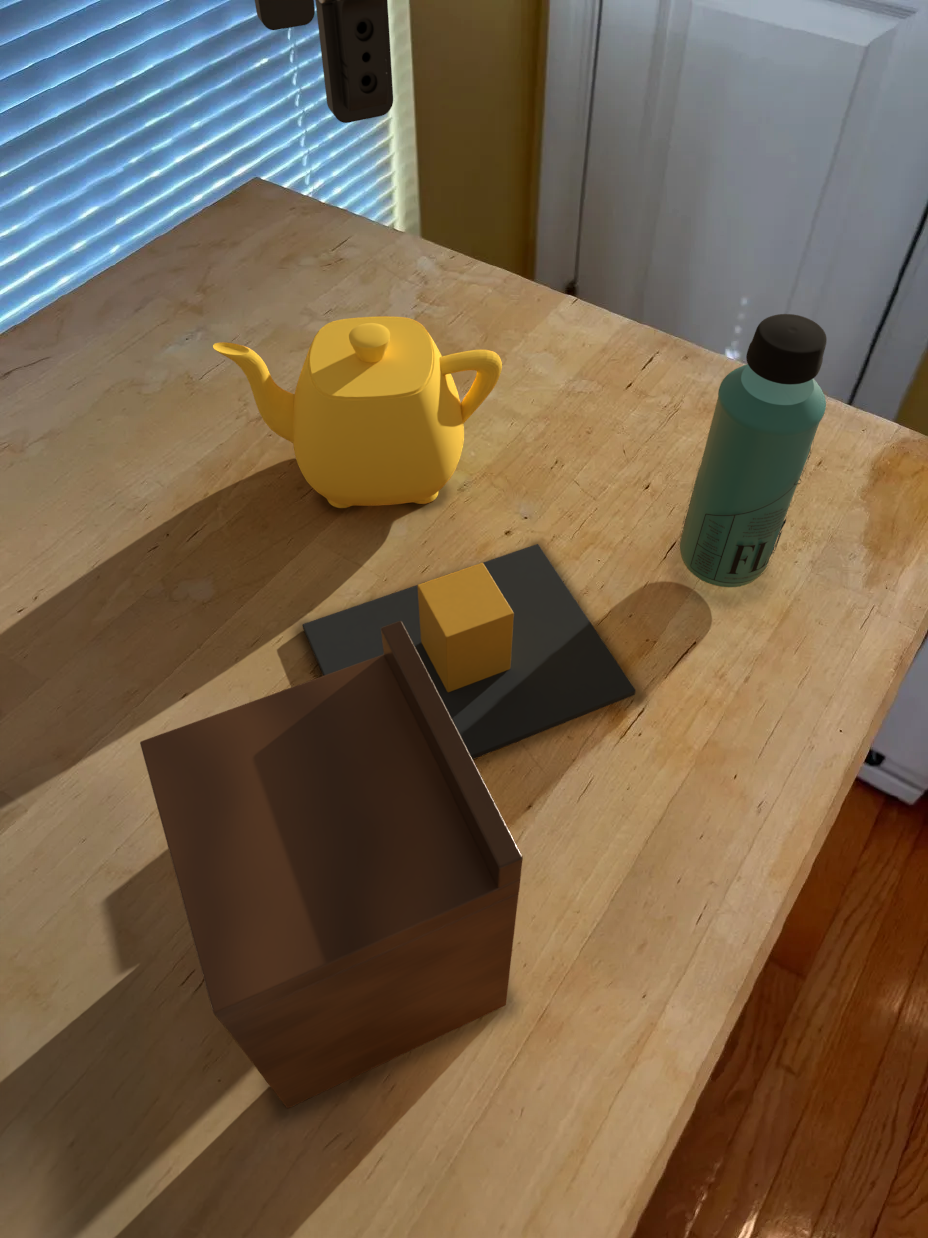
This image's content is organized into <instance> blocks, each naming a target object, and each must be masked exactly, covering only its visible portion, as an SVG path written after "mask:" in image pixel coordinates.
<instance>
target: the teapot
mask: <svg viewBox="0 0 928 1238" xmlns="http://www.w3.org/2000/svg"><path fill="white" fill-rule="evenodd" d="M212 347H213V349H214V350H215V351H216V353H219V354H221V355H222V356H223V357H226V358H227V359H229V360H231V361H232V362H234V363H235V364H236V365H237V366H238V367H239V368H240V369H241V370H242V373H243V374H244V375H245V376H246V379H247V382H248V383H249V386H250V389H251V392H252V395H253V398H254V402H255V405H256V407H257V410H258V413H259V414H260V417H261V419H262V421H263V422H264V423H265V424H266V426H267V427H268V428H269V429H270V430H271V431H272V432H273V433H274V434H276V435H277V436H278V437H281V438H282V439H284V440H285V441H288V442H289V443H292V444H293V445H292V447H293V451H294V457H295V459H296V464H297V465H298V467H299V470H300V472H301V474H302V476H303V477H304V479H305V481H306V483H307V484H309V486H310V487H311V488H312V489H313V490H314V491H315V492H316V493H318V494H319V495H320V496H322V497H324V498H325V499H326V500H327V502H328V503H329V504H330V505H331V506H332V507H333V508H338V509H347V508H350V507H352V506H368V507H370V506H372V507H373V506H390V505H401V504H408V503H415V504H419V505H426V504H429V503H432V502H434V500H436V499H437V497H438V495H439V491H440V490H442V489H443V488H444V487H445V485H446V484H447V483H448V482H449V480H451V478H452V476H453V475H454V473H455V471H456V470H457V468H458V465H459V462H460V459H461V455H462V454H463V453H462V452H463V448H464V442H465V441H464V440H465V428H464V426H465V425H464V424H465V423H466V422H467V421H468V420H469V418H470V417H471V416H473V414H474V413H475V412H476V411H477V410H478V408H479V407H480V406H481V405H482V404H483V403H484V401H485V400H486V399H487V398H488V397H489V395H490V394H491V393H492V392H493V390H494V389H495V387H496V385H497V384H498V381H499V380H500V376H501V373H502V369H503V362H502V359H501V357H500V355H499V354H498V353H496V352H495V351H493V350H488V349H472V350H465V351H460V352H455V353H450V354H446V355H442V354H441V351H440V350H439V348H438V346H437V344H436V342H435V341H434V339H433V338H432V335H430V333H429V332H428V330H427V329H426V327H425V326H424V325H423V324H422V323H421V322H419V321H417V320H415V319H413V318H409V317H406V316H405V317H404V316H391V315H390V316H388V315H387V316H359V317H350V318H349V317H348V318H342V319H337V320H333V321H330V322H328V323H326V324H324V326H322V327H321V328H320V329H319V330H318V331H317V332H316V334H315V335H314V337H313V339H312V342H311V344H310V346H309V348H308V350H307V353H306V356H305V359H304V362H303V364H302V368H301V370H300V373H299V377H298V379H297V383H296V386H295V389H294V390H295V391H294V393H293V392H290V391H287V390H285V389H283V388H282V387H280V386H279V385H278V384H277V383H276V382H275V381H274V379H273V377H272V375H271V373H270V371H269V369H268V366H267V365H266V363H265V361H264V359H262V357H261V356H260V355H259V354H258V353H256V351H254V350H253V349H251V348H249V347H247V346H245V345H243V344H242V345H241V344H239V343H234V342H226V341H224V342H222V341H221V342H215V343H214V344H213V345H212ZM468 371H475V372H476V374H475V377H474V380H473V382H472V384H471V386H470V388H469V390H468V392H467V393H466V394H465V396H464V397H463V398H462V400H460V396H459V391H458V388H457V386H456V383H455V381H454V377H453V376H452V374H455V373H460V372H468Z"/></svg>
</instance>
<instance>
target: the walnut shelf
mask: <svg viewBox="0 0 928 1238" xmlns="http://www.w3.org/2000/svg"><path fill="white" fill-rule="evenodd" d="M381 634H382V642H383V650H384V654H383V655H381V656H378V657H375V658H372V659H369V660H367V661H364V662H361V663H358V664H355V665H353V666H350V667H347V668H344V669H341V670H339V671H336V672H333V673H330V674H328V675H325V676H323V675H322V676H319V677H317V678H314V679H312V680H311V679H310V680H309V681H306V682H303V683H300V684H297V685H294V686H291V687H289V688H287V689H283V690H279V691H277V692H275V693H272V694H269V695H266V696H264V697H261V698H258V699H255V700H253V701H250V702H247V703H243V704H241V705H239V706H236V707H233V708H230V709H228V710H225V711H221V712H219V713H216V714H213V715H210V716H208V717H205V718H201V719H200V720H196V721H194V722H191V723H188V724H186V725H185V724H184V725H183V726H180V727H177V728H174V729H171V730H169V731H165V732H163V733H161V734H158V735H154V736H152V737H149V738H146V739H144V740H141V741H140V742H139V744H140V749H141V753H142V756H143V759H144V762H145V766H146V767H145V768H146V770H147V774H148V778H149V781H150V785H151V788H152V793H153V796H154V800H155V803H156V808H157V811H158V815H159V818H160V821H161V826H162V829H163V833H164V836H165V840H166V844H167V848H168V851H169V854H170V855H169V856H170V859H171V863H172V867H173V870H174V873H175V874H174V875H175V877H176V881H177V885H178V888H179V892H180V896H181V900H182V903H183V908H184V910H185V914H186V918H187V922H188V925H189V929H190V933H191V936H192V940H193V943H194V944H193V945H194V947H195V952H196V955H197V958H198V962H199V966H200V968H201V973H202V977H203V981H204V985H205V989H206V991H207V996H208V999H209V1003H210V1006H211V1009H212V1014H213V1015H214V1016H215V1017H216V1019H217V1020H218V1021H219V1022H220V1023H221V1024H222V1026H223V1027H224V1028H225V1030H226V1031H227V1033H228V1034H229V1035H230V1036H231V1038H232V1039H233V1040H234V1042H235V1043H236V1044H237V1045H238V1047H240V1049H241V1051H242V1052H243V1053H244V1055H245V1056H246V1057H247V1058H248V1060H249V1061H250V1062H251V1063H252V1065H253V1066H254V1068H255V1069H256V1070H257V1071H258V1072H259V1074H260V1075H261V1076H262V1078H263V1079H264V1080H265V1082H266V1083H267V1084H268V1085H269V1087H270V1088H271V1089H272V1091H273V1092H274V1093H275V1094H276V1096H277V1097H278V1098H279V1100H280V1101H281V1102H282V1104H283V1105H284V1106H285V1108H286V1109H290V1108H293V1107H294V1106H297V1105H298V1104H301V1103H303V1102H305V1101H307V1100H309V1099H311V1098H313V1097H315V1096H318V1095H320V1094H322V1093H324V1092H326V1091H328V1090H330V1089H332V1088H335V1087H337V1086H339V1085H341V1084H344V1083H345V1082H347V1081H349V1080H351V1079H354V1078H356V1077H358V1076H360V1075H362V1074H364V1073H367V1072H368V1071H370V1070H373V1069H375V1068H377V1067H379V1066H382V1065H383V1064H385V1063H388V1062H389V1061H392V1060H394V1059H396V1058H398V1057H400V1056H402V1055H404V1054H406V1053H409V1052H411V1051H413V1050H415V1049H417V1048H419V1047H422V1046H423V1045H425V1044H428V1043H430V1042H432V1041H434V1040H436V1039H438V1038H440V1037H443V1036H444V1035H446V1034H448V1033H451V1032H453V1031H455V1030H457V1029H459V1028H461V1027H464V1026H465V1025H468V1024H470V1023H472V1022H475V1021H476V1020H478V1019H480V1018H482V1017H484V1016H487V1015H489V1014H491V1013H493V1012H495V1011H497V1010H500V1009H501V1008H503V1007H505V1006H506V1005H507V999H508V992H509V991H508V989H509V980H510V971H511V964H512V956H513V955H512V954H513V948H514V947H513V946H514V939H515V929H516V922H517V921H516V920H517V911H518V904H519V903H518V902H519V892H520V888H521V878H522V877H521V876H522V868H523V861H524V860H523V854H522V852H521V850H520V849H519V846H518V844H517V843H516V841H515V838H514V837H513V835H512V833H511V831H510V829H509V827H508V825H507V823H506V822H505V819H504V817H503V815H502V813H501V811H500V810H499V807H498V806H497V803H496V802H495V800H494V798H493V796H492V794H491V792H490V790H489V788H488V786H487V783H486V782H485V780H484V778H483V776H482V774H481V772H480V771H479V769H478V767H477V765H476V763H475V760H474V759H472V757H471V755H470V753H469V751H468V749H467V747H466V745H465V743H464V741H463V739H462V737H461V735H460V733H459V731H458V730H457V728H456V726H455V724H454V722H453V720H452V718H451V716H450V714H449V712H448V710H447V708H446V706H445V704H444V702H443V700H442V698H441V696H440V694H439V693H438V691H437V689H436V687H435V685H434V683H433V681H432V679H431V677H430V675H429V673H428V671H427V669H426V667H425V665H424V663H423V661H422V659H421V657H420V656H419V654H418V652H417V650H416V648H415V646H414V644H413V642H412V640H411V638H410V636H409V634H408V632H407V630H406V628H405V626H404V624H403V622H402V621H398V622H396V623H393V624H390V625H387V626H384V627H382V628H381Z"/></svg>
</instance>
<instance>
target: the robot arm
mask: <svg viewBox="0 0 928 1238" xmlns="http://www.w3.org/2000/svg"><path fill="white" fill-rule="evenodd" d="M388 2H389V1H388V0H254V4H255V11H256V17H257V18H258V19H259V21H261V23H262V24H263V26H264V27H265V28H266V29H268V30H270V31H279V30H285V29H290V28H296V27H297V28H298V27H301V26H302V27H303V26H306V25H309V24H310V23H311V22H312V21H313V20H314V18H315V14H316V19H317V26H318V35H319V45H320V53H321V63H322V71H323V80H324V89H325V96H326V105H327V107H328V109H329V111H330V112H331V113H332V115H333V116H334V117H335V118H336V120H337V121H339V122H340V123H344V124H348V123H349V124H350V123H354V122H359V121H363V120H368V119H374V118H378V117H383V116H385V115H386V114H388V113H389V112H390V110H391V109H392V107H393V104H394V87H393V72H392V71H393V70H392V69H393V68H392V54H391V37H390V22H389V18H390V17H389V3H388Z"/></svg>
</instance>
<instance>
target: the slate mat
mask: <svg viewBox="0 0 928 1238" xmlns="http://www.w3.org/2000/svg"><path fill="white" fill-rule="evenodd" d="M482 563H483V564H484V565H485V567H486V569H487V570H488V572H489V573H490V575H491V577H492V578H493V580H494V582H495V583H496V585H497V587H498V588H499V590H500V591H501V593H502V595H503V596H504V598H505V600H506V601H507V603H508V605H509V606H510V608H511V609H512V611H513V613H514V617H513V633H512V648H511V664H510V669H509V670H506V671H504V672H501V673H498V674H496V675H493V676H490V677H488V678H485V679H482V680H480V681H477V682H474V683H472V684H469V685H467V686H464V687H461V688H459V689H456V690H453V691H451V692H447V690H446V688H445V686H444V684H443V683H442V681H441V679H440V677H439V675H438V673H437V671H436V669H435V667H434V665H433V663H432V661H431V660H430V658H429V656H428V654H427V652H426V650H425V648H424V646H423V644H422V642H421V631H420V615H419V600H418V585H419V584H415V585H413V586H410V587H407V588H405V589H401V590H398V591H396V592H393V593H390V594H386V595H384V596H380V597H378V598H374V599H372V600H369V601H366V602H363V603H360V604H358V605H355V606H351V607H349V608H346V609H343V610H340V611H337V612H334V613H331V614H328V615H325V616H323V617H322V616H321V617H320V618H315V619H314V620H310V621H307V622H304V623H303V624H302V629H303V632H304V634H305V637H306V639H307V642H308V643H309V646H310V648H311V651H312V653H313V655H314V658H315V660H316V663H317V664H318V668H319V670H320V672H321V674H322V676H325V675H328V674H330V673H333V672H336V671H339V670H341V669H344V668H347V667H350V666H353V665H355V664H358V663H361V662H364V661H367V660H369V659H372V658H375V657H378V656H381V655H383V654H384V650H383V642H382V634H381V628H382V627H384V626H387V625H390V624H393V623H396V622H398V621H402V622H403V624H404V626H405V628H406V630H407V632H408V634H409V636H410V638H411V640H412V642H413V644H414V646H415V648H416V650H417V652H418V654H419V656H420V657H421V659H422V661H423V663H424V665H425V667H426V669H427V671H428V673H429V675H430V677H431V679H432V681H433V683H434V685H435V687H436V689H437V691H438V693H439V694H440V696H441V698H442V700H443V702H444V704H445V706H446V708H447V710H448V712H449V714H450V716H451V718H452V720H453V722H454V724H455V726H456V728H457V730H458V731H459V733H460V735H461V737H462V739H463V741H464V743H465V745H466V747H467V749H468V751H469V753H470V755H471V757H472V759H473V760H475V759H478V758H480V757H482V756H483V757H484V756H485V755H487V754H490V753H492V752H495V751H497V750H500V749H502V748H505V747H508V746H510V745H513V744H515V743H517V742H520V741H523V740H525V739H528V738H531V737H533V736H535V735H538V734H540V733H543V732H545V731H548V730H550V729H553V728H555V727H559V726H560V725H563V724H566V723H568V722H571V721H574V720H576V719H579V718H581V717H583V716H585V715H588V714H591V713H594V712H596V711H598V710H600V709H603V708H605V707H608V706H611V705H613V704H616V703H618V702H621V701H624V700H626V699H628V698H630V697H633V696H635V695H636V692H637V691H636V688H635V687H634V685H633V683H631V681H630V679H629V678H628V676H627V675H626V674H625V672H624V670H623V669H622V667H621V666H620V664H619V663H618V661H617V660H616V659H615V656H614V655H613V654H612V652H611V651H610V649H609V647H607V645H606V643H605V642H604V640H603V639H602V638H601V636H600V634H599V633H598V631H597V630H596V628H595V627H594V625H593V624H592V622H591V621H590V620H589V618H588V617H587V615H586V613H585V612H584V610H583V609H582V607H581V606H580V604H579V603H578V602H577V600H576V598H575V597H574V595H573V594H572V593H571V591H570V590H569V588H568V586H567V585H566V584H565V582H564V581H563V579H562V578H561V575H560V574H559V573H558V572H557V570H556V568H555V567H554V566H553V564H552V562H551V561H550V559H549V558H548V556H547V555H546V553H545V552H544V551H543V549H542V548H541V545H540V544H538V543H536V544H533V545H529V546H527V547H524V548H521V549H518V550H515V551H513V552H510V553H507V554H504V555H501V556H498V557H495V558H492V559H489V560H486V561H483V562H482Z"/></svg>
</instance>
